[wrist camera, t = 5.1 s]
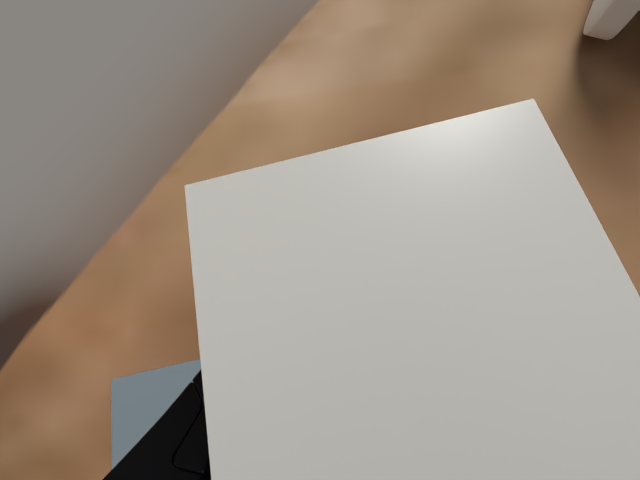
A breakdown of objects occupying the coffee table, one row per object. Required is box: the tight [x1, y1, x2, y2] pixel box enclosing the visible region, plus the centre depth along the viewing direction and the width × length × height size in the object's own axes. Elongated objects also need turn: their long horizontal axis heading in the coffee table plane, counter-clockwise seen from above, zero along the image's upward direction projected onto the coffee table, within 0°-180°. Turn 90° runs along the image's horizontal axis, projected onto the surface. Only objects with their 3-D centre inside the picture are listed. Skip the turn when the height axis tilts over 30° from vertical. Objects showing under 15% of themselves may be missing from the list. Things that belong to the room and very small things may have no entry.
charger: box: [185, 99, 640, 480], centre depth 8 cm, size 4×4×10 cm
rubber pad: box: [111, 359, 201, 469], centre depth 16 cm, size 10×10×1 cm
